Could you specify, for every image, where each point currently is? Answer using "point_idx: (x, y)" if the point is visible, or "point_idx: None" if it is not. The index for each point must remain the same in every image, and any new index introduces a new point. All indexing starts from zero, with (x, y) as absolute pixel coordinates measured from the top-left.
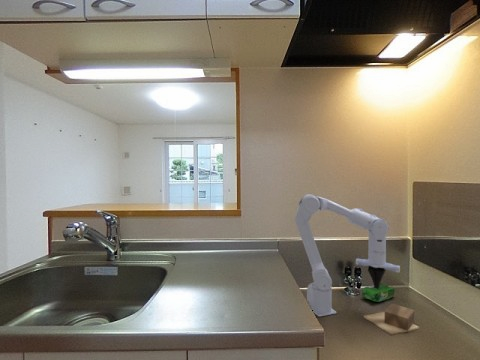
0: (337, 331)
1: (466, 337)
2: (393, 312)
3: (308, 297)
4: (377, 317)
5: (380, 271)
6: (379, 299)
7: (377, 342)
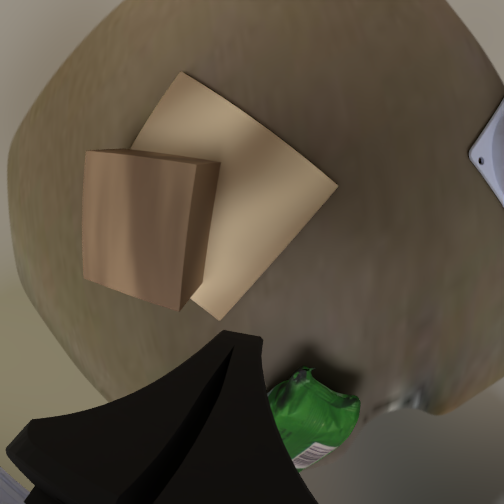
0: None
1: (21, 238)
2: (149, 181)
3: None
4: (263, 206)
5: (17, 457)
6: (272, 390)
7: None
